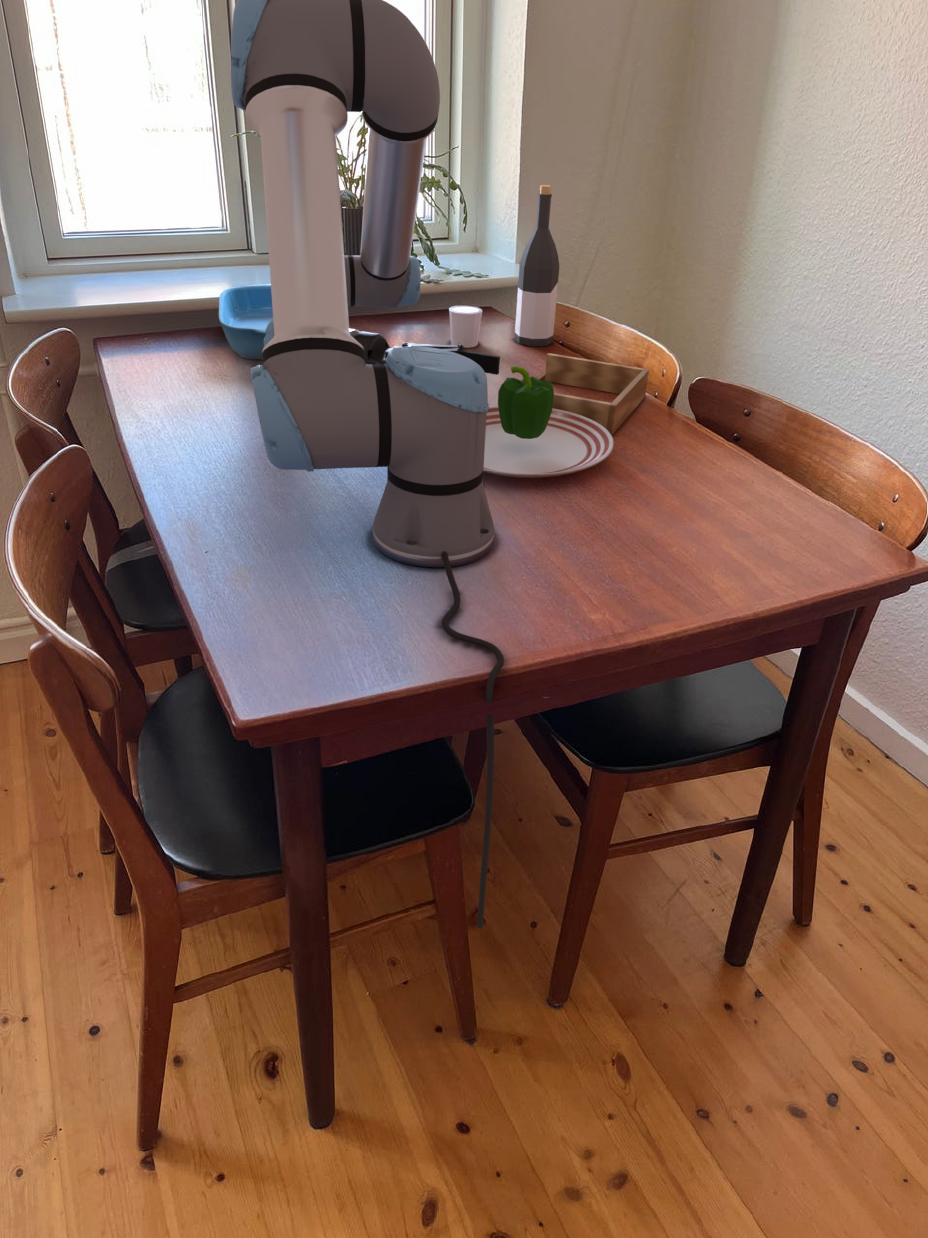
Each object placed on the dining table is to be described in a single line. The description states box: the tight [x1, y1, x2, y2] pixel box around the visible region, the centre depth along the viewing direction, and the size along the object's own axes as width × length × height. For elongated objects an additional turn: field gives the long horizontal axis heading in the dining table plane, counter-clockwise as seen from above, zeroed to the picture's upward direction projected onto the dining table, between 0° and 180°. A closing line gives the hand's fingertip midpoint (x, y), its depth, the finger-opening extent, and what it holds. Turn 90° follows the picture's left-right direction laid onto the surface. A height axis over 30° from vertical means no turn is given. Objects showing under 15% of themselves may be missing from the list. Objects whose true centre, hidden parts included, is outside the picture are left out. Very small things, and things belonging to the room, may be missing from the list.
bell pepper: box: [497, 365, 555, 439], centre depth 139 cm, size 8×8×10 cm
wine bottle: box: [514, 184, 560, 347], centre depth 189 cm, size 8×8×30 cm
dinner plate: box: [483, 405, 615, 479], centre depth 142 cm, size 28×27×3 cm
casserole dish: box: [218, 283, 273, 360], centre depth 188 cm, size 37×22×7 cm, turn 13°
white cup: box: [448, 305, 483, 349], centre depth 191 cm, size 7×7×7 cm
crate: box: [535, 352, 650, 436], centre depth 162 cm, size 20×22×5 cm
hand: (481, 377), depth 139 cm, fingers open, 13 cm apart
